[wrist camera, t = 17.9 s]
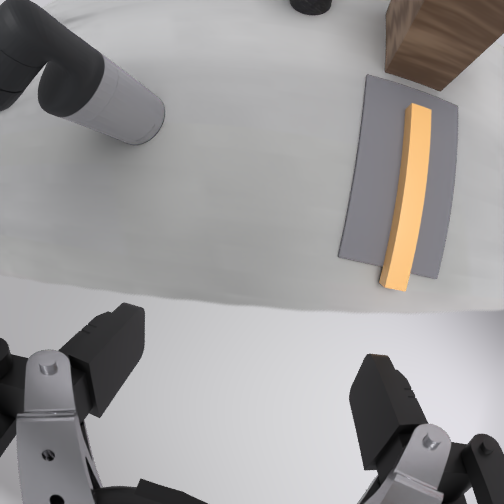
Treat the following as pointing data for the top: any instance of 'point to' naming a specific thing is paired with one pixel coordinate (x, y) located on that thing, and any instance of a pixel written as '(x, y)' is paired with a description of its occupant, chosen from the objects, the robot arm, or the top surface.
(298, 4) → the travel mug
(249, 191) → the top surface
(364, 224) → the gray mat
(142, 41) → the top surface
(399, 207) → the tan block
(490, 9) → the walnut pedestal
